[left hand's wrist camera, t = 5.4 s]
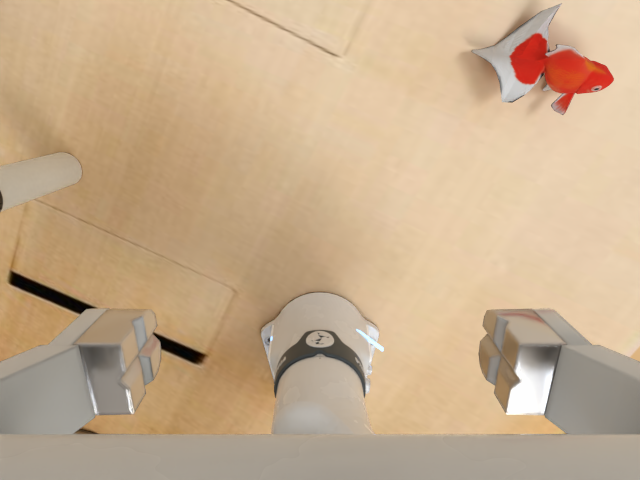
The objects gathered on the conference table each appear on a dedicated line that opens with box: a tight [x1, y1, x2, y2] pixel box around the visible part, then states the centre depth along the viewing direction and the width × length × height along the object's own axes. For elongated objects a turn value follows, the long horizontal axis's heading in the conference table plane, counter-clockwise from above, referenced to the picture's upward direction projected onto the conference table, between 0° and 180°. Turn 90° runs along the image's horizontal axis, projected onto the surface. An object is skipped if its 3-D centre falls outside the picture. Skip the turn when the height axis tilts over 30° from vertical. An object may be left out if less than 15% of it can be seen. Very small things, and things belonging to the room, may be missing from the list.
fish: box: [471, 3, 614, 115], centre depth 49 cm, size 11×16×10 cm
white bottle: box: [0, 152, 82, 211], centre depth 49 cm, size 5×5×17 cm
